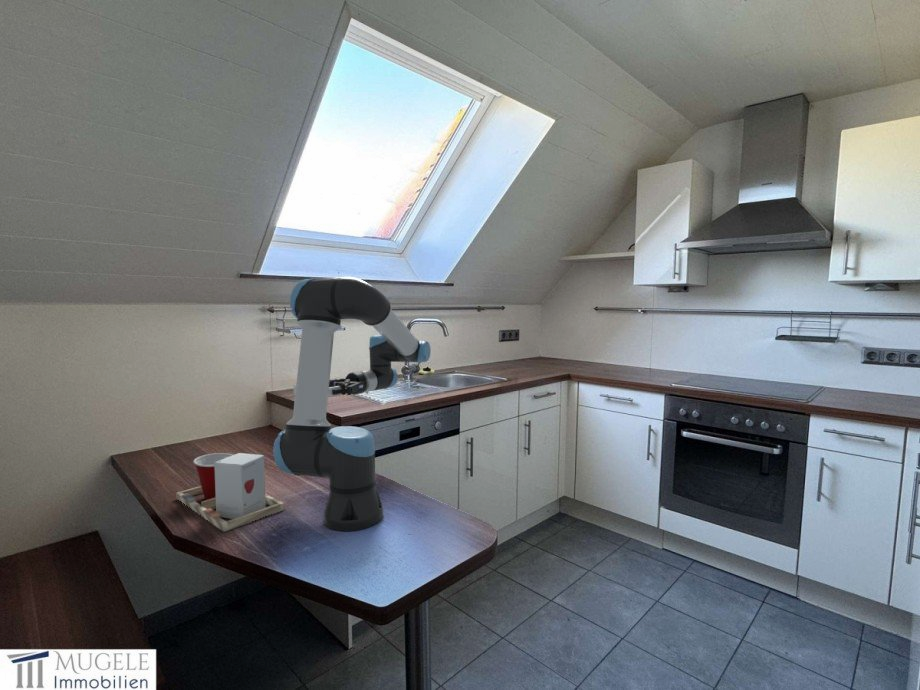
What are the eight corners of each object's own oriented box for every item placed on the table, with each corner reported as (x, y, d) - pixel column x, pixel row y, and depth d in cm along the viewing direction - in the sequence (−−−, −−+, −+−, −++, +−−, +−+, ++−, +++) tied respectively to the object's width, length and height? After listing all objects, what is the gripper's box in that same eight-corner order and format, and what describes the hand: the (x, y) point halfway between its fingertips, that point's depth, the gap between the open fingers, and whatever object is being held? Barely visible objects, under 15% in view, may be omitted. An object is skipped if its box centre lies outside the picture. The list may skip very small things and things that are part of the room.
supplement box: (243, 521, 120) (240, 465, 119) (215, 517, 122) (212, 462, 121) (267, 507, 128) (264, 454, 127) (240, 503, 131) (238, 452, 130)
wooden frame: (284, 510, 126) (283, 499, 126) (222, 532, 114) (221, 520, 114) (232, 483, 147) (232, 474, 147) (175, 499, 135) (175, 489, 134)
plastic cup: (219, 506, 129) (217, 464, 128) (186, 503, 131) (184, 462, 131) (245, 491, 140) (243, 452, 139) (214, 489, 142) (212, 451, 141)
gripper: (387, 396, 150) (335, 408, 133) (336, 390, 165) (284, 399, 148) (386, 373, 150) (334, 382, 133) (336, 369, 164) (283, 376, 147)
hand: (307, 391), depth 140 cm, fingers open, 13 cm apart
